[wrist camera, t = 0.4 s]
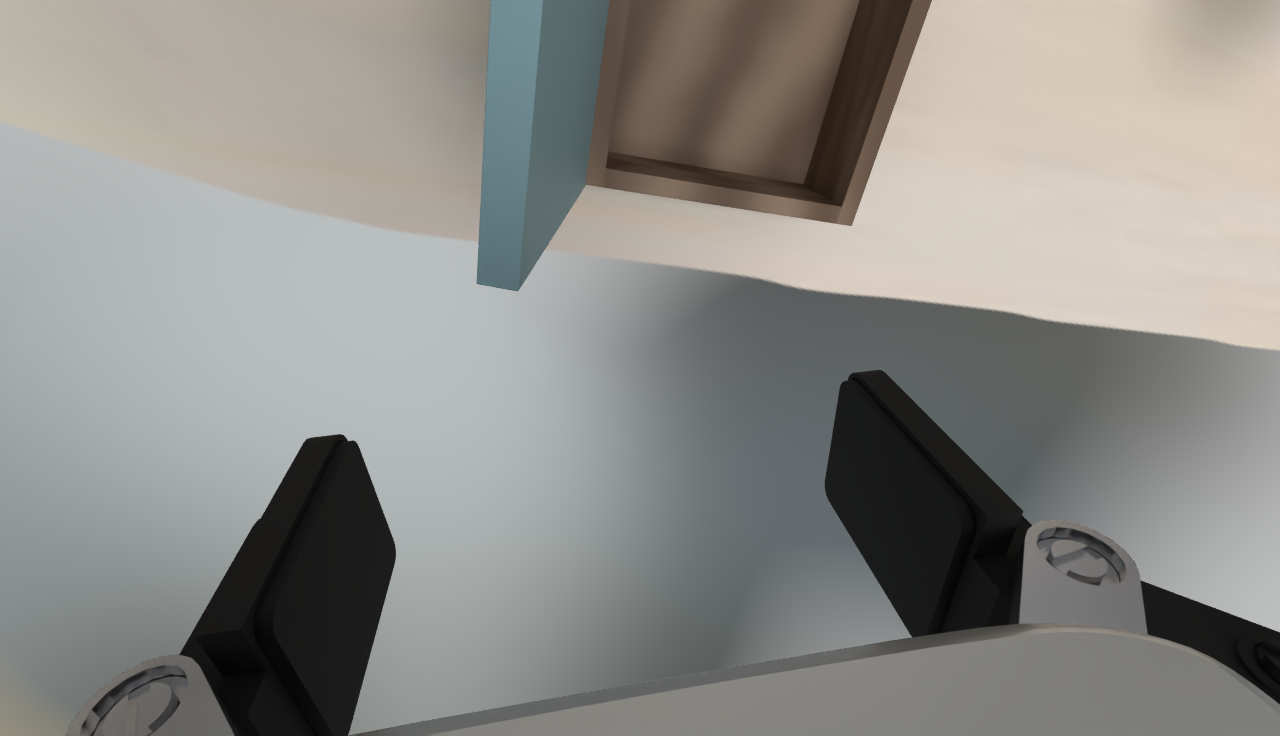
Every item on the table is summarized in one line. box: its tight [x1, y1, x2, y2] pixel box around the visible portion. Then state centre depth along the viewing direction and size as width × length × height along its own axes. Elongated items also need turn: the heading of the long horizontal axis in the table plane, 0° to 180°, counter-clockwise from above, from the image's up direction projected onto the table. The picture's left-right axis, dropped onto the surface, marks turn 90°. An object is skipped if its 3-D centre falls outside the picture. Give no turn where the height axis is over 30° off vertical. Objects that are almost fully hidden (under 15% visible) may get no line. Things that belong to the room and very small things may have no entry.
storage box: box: [585, 0, 932, 226], centre depth 32 cm, size 16×18×7 cm
